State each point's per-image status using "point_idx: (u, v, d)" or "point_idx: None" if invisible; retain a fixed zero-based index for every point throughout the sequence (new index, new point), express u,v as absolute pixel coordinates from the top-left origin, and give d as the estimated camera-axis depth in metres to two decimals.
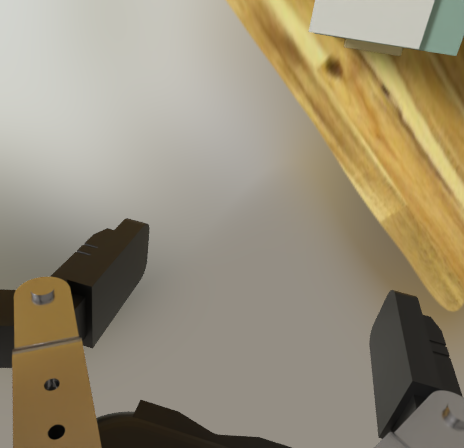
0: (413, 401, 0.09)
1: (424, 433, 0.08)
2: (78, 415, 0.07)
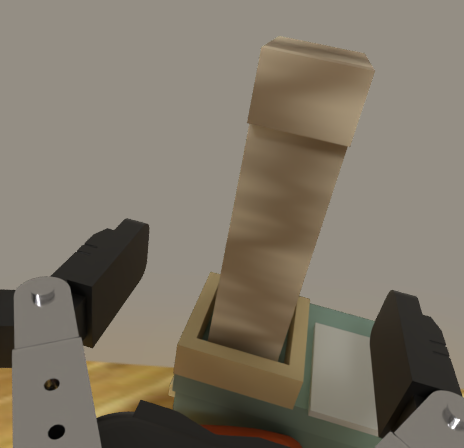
0: (413, 401, 0.09)
1: (424, 433, 0.08)
2: (78, 415, 0.07)
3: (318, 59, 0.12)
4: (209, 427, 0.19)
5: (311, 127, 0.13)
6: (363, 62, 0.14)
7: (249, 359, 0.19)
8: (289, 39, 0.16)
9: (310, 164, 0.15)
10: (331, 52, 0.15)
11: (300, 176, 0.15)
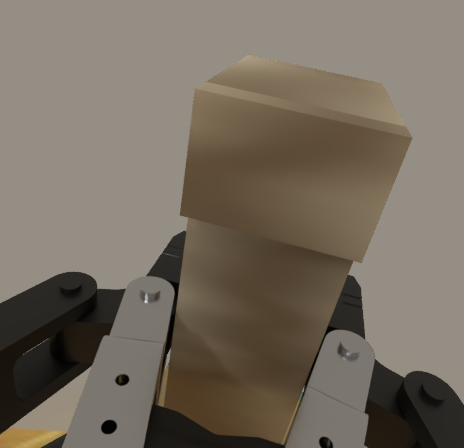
0: None
1: (330, 375, 0.09)
2: (132, 418, 0.07)
3: (302, 113, 0.07)
4: None
5: (292, 228, 0.07)
6: (385, 110, 0.08)
7: None
8: (263, 61, 0.10)
9: (294, 275, 0.09)
10: (329, 87, 0.09)
11: (276, 291, 0.09)
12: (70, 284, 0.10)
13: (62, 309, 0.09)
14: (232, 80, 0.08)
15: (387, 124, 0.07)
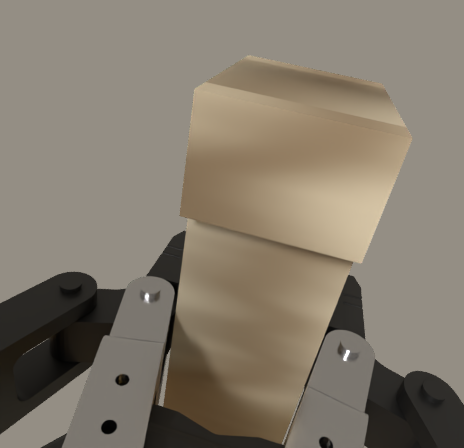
0: None
1: (330, 375, 0.09)
2: (132, 418, 0.07)
3: (302, 113, 0.06)
4: None
5: (292, 229, 0.07)
6: (385, 110, 0.08)
7: None
8: (262, 61, 0.10)
9: (294, 276, 0.09)
10: (329, 88, 0.09)
11: (276, 292, 0.09)
12: (70, 284, 0.10)
13: (62, 309, 0.09)
14: (232, 80, 0.08)
15: (387, 125, 0.07)
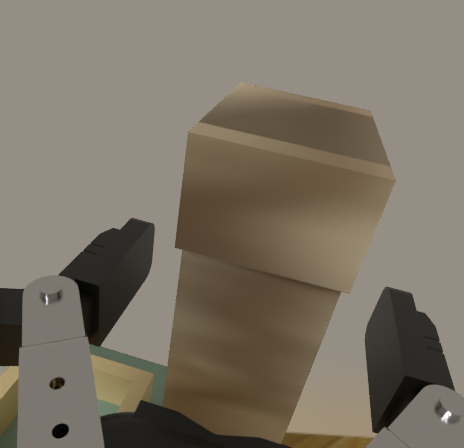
0: (406, 395, 0.09)
1: (417, 427, 0.08)
2: (82, 414, 0.07)
3: (291, 155, 0.07)
4: None
5: (282, 261, 0.08)
6: (371, 146, 0.08)
7: None
8: (254, 90, 0.10)
9: (285, 301, 0.09)
10: (318, 120, 0.09)
11: (269, 316, 0.09)
12: None
13: None
14: (224, 118, 0.08)
15: (372, 164, 0.07)
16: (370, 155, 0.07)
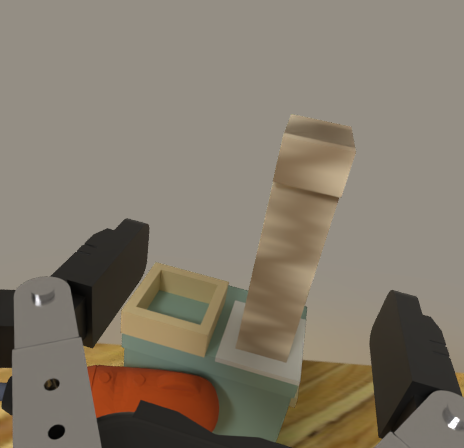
0: (413, 401, 0.09)
1: (424, 433, 0.08)
2: (78, 415, 0.07)
3: (319, 144, 0.19)
4: (143, 368, 0.26)
5: (315, 185, 0.20)
6: (349, 141, 0.21)
7: (171, 320, 0.27)
8: (298, 118, 0.23)
9: (315, 207, 0.22)
10: (328, 131, 0.22)
11: (307, 215, 0.22)
12: None
13: None
14: (292, 131, 0.21)
15: (348, 147, 0.20)
16: (348, 144, 0.20)
